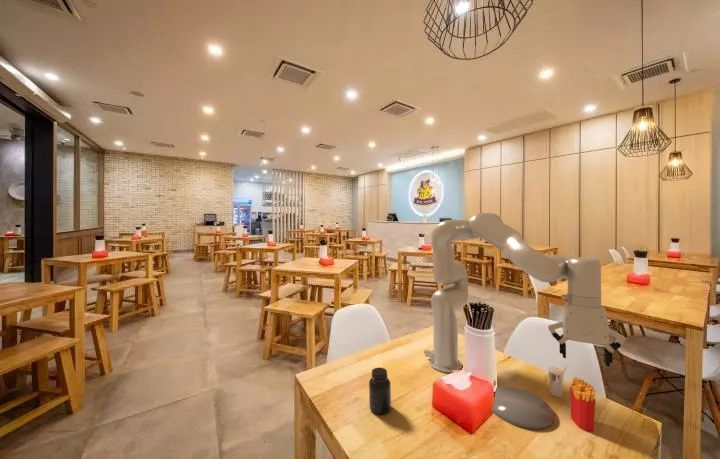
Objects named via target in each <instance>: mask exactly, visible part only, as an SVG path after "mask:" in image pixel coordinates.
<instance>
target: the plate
mask: <svg viewBox="0 0 720 459" xmlns="http://www.w3.org/2000/svg"><path fill="white" fill-rule="evenodd" d="M495 388H496V393H495V397H494V404H493V408H491V409H490V410H491V411H490V412H492V413H493V414H494V415H495V416H497V417H498V418H499V419H501V420H502V421H504V422H506V423H508V424H510V425H513V426H516V427H519V428H522V429H525V430H534V431H536V430H544V429H545V430H546V429H548V428H550V427H551V426H552V425H553V423H554V416H555V414H554V411H553V409H552V408H551V406H550V405H549V404H548V403H547V402H546V401H545V400H544V399H543V398H541V397H540V396H537V395H535V394H534V393H531V392H529V391H526V390H524V389H520V388H517V387H510V386H500V387H499V386H498V387H495Z"/></svg>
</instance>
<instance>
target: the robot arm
mask: <svg viewBox="0 0 720 459" xmlns="http://www.w3.org/2000/svg"><path fill="white" fill-rule="evenodd" d="M430 238H431V247H432V267H433V268H432V270H433V272H432V273H433V279H434V282H435V283H437V284H438V285H440V286H446V287H442V288H440V289H437V290H435V292H434V293H433V294H432V295H431V297H430V305H431V309H432V310H431V311H432V320H433V322H432V324H433V325H432V326H433V349H432V350H429V349H426V348H425V349H424V351H423V354H424V357H427V358H430V359H429V364H430V366H431V368H433V369H435V370H436V371H439V372H442V373H451V372H452V371H453V370H457V369H458V370H459V371H461V370H462V367H463V365H462V362H461V361H460V360H459V359H458V356H459V354H458V352H459V350H458V348H459V346H458V342H459V341H458V340H459V338H458V337H459V336H458V335H459V334H458V332H459V331H458V330H459V329H458V318H457V316H456V312H455V311H456V310H458V309H461V308H463V307H465V305H466V304H467V302H468V301H469V278H468V271H467V268H466V266H465V265H464V263H463V262H461V261H460V260H456V259H455V250H454V247H453V244H452V242H457V241H468V240H469V241H470V240H474V239H479V238H481V240H484V241H485V242H486V243H488V244H489V245H491V246H492V247H494V248H496V249H497V250H498V251H500V252H502V254H504V256H505V257H506V258H507V259H508V260H509V261H510V262H511V263H512V264H513V265H514V266H516V268H518V269H520V270H521V271H523V272H524V273H526V274H527V275H529V276H530V277H532V278H534V279H535V280H538V281H540V282H543V283H554V282H556V281H559V280H563V279H566V280H567V293H566V294H561V300H564V301H566V302H565V303H564V307H563V311H562V312H563V314H562V321H560V322H556V323H552V324H548V326H547V329H548V331H549V332H550V333H551V336H552V337H553V338H554V339H555V340H556V341H557V342H558V343H559V354H560V355H561V356H562V359H566V358H567V345H566V342H567V341H573V342H578V343H583V344H584V343H585V344H591V345H597V346H603V347H604V349H603V362H604V364H605V366H607V367H611V364H613V360H614V359H613V353H614V352H615V351H616V350H619V349H620V348H621V347H622V345H623V344H624V343H625V342H626V340H627V339H626V337H625V336H624V335H623V334H620V333H619V332H617V331H615V330H612V329H611V328H610V327H609V319H608V314H607V310H606V308H605V307H604V306H602V264H601V262H600V260H599V259H597V258H594V257H583V256H581V257H580V256H578V257H577V256H576V257H571V256H566V255H560V254H550V255H549V254H548V255H545V254H543V253H541V252H540V251H539V250H537V249H535V248H534V247H532V246H530V245H529V244H528V243H527V242H526V241H525V240H524V239H523V237H522V234H521V233H520V232H519V231H518V230H517V229H515V228H513V227H511V226H509V225H507V224H506V223H504V221H503V219H502V217H500V215H498V214H496V213H491V212H479V213H476V214H474V215H472V216H471V218H468V219H446V220H443V221H440V222H439V223H438V224H437V225H435V226H434V228H433V230H432V232H431V237H430ZM560 328H562V334H561V335H560V334H559V333H558V332H556V330H557V329H560ZM610 336H612V337H613V338H616V339H615V341H613V342H612V343H610ZM451 374H452V373H451Z"/></svg>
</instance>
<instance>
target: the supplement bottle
mask: <svg viewBox="0 0 720 459" xmlns="http://www.w3.org/2000/svg"><path fill="white" fill-rule="evenodd" d="M391 390H392V389H391V380H390V379H389V378H388V370H387V369H386V368H384V367H375V368H372V370H371V378H370V379H369V382H368V394H369V395H368V400H369V403H368V404H369V410H370V411H371V413H373V414H374V415H377V416H384V415H386V414H388V413H390V411H391V409H392V393H391Z"/></svg>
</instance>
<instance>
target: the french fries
mask: <svg viewBox="0 0 720 459" xmlns="http://www.w3.org/2000/svg"><path fill="white" fill-rule="evenodd" d="M569 391H570V392H569V394H570V395H569V396H570V418H571V420H572V421H573V422H574V423H575V425H576V426H577V427H578V428H579V429H581V430H582V431H584V432H590V433H592V432H594V428H595V411H596V410H595V409H596V399H595V395H596V390H595V388H594V386H592V384H591V383H588V381H585V380H584V379H581V378H577V376H574V377H573V378H572V382H570V386H569Z"/></svg>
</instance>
